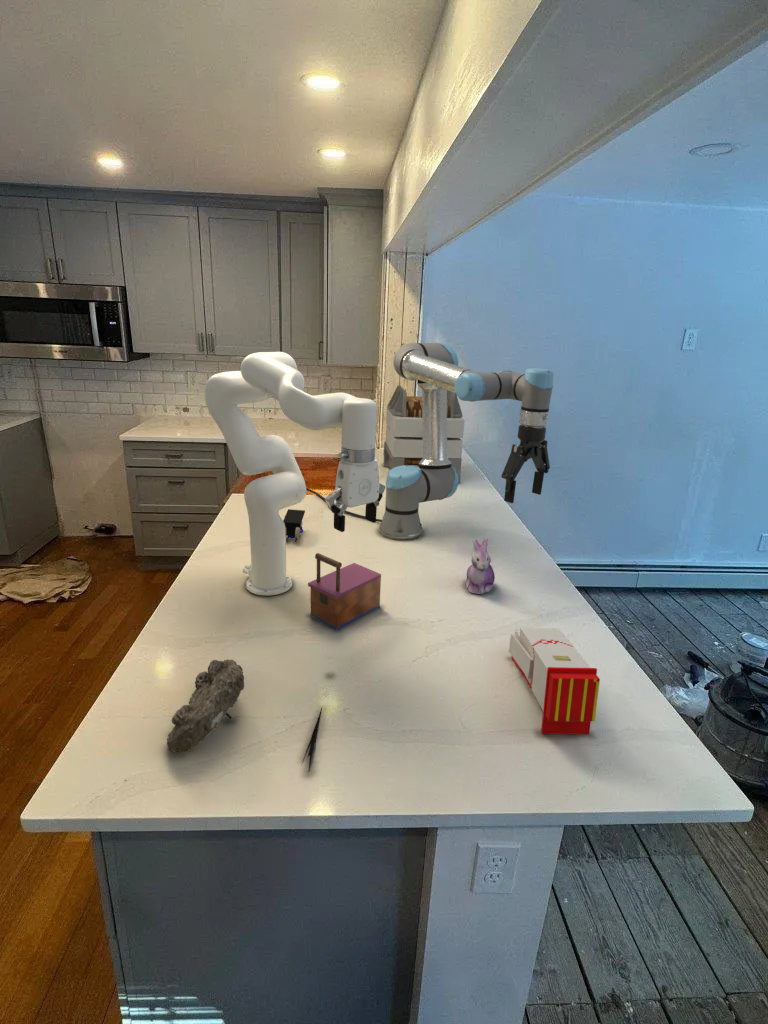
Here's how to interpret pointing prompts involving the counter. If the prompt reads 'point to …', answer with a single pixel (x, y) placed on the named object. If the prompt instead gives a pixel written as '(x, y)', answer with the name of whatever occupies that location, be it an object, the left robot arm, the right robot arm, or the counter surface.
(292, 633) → the counter surface
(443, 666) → the counter surface
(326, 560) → the lid
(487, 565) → the figurine
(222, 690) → the fossil
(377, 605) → the chest
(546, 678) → the toy
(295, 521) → the figurine character
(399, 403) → the transformer
